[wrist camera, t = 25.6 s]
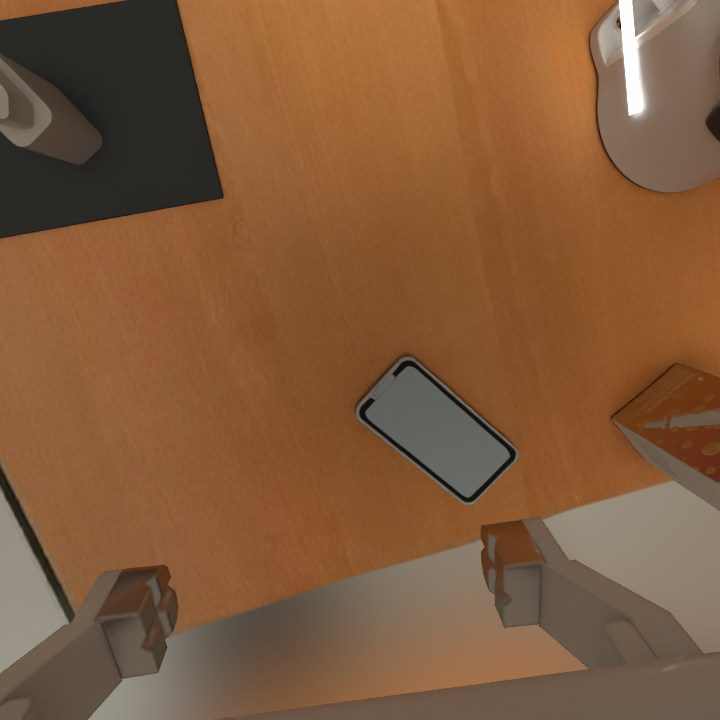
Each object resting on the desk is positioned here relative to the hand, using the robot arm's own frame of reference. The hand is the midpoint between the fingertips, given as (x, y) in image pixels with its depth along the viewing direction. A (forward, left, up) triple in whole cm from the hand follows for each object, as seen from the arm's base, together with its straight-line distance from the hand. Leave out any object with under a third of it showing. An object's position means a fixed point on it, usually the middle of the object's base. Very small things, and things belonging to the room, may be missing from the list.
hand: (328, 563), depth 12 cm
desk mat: (-5, -24, -30) cm, 39 cm away
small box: (-10, +32, -30) cm, 45 cm away
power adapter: (-5, -24, -30) cm, 38 cm away
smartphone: (+2, +14, -30) cm, 33 cm away
